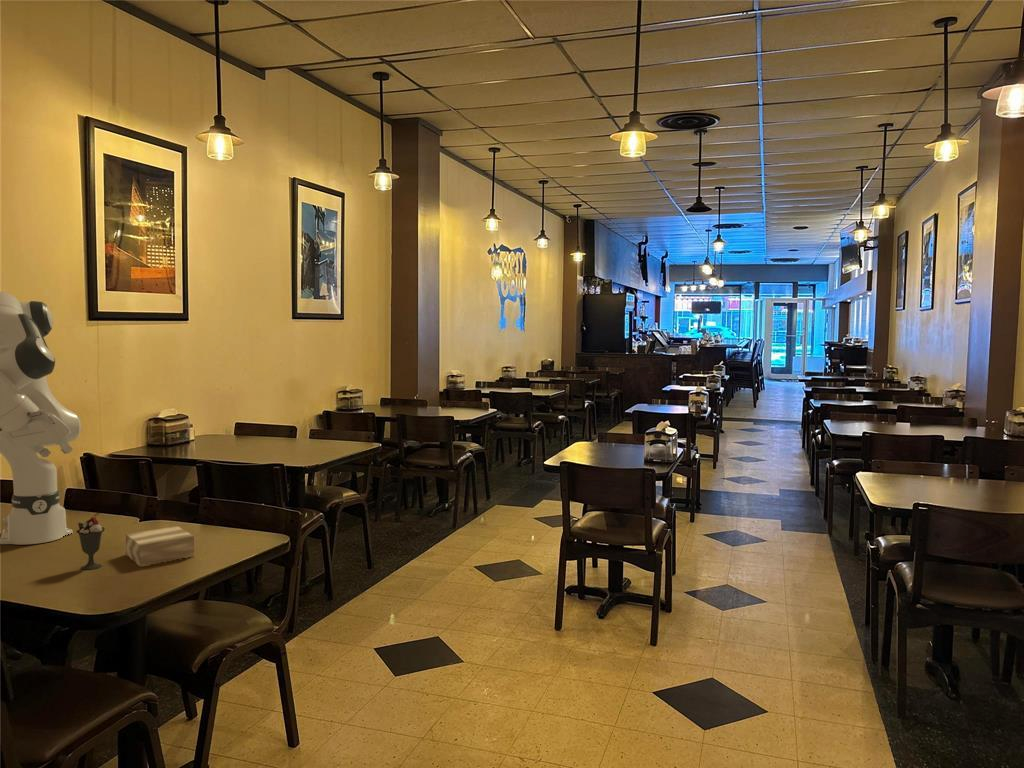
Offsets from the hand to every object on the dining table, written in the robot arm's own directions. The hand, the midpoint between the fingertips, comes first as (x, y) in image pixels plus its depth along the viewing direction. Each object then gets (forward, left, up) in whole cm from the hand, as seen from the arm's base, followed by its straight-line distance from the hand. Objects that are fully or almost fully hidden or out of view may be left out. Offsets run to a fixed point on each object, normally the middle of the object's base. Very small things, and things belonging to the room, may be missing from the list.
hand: (58, 453), depth 187 cm
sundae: (+1, +7, -32) cm, 32 cm away
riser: (+2, +24, -31) cm, 40 cm away
